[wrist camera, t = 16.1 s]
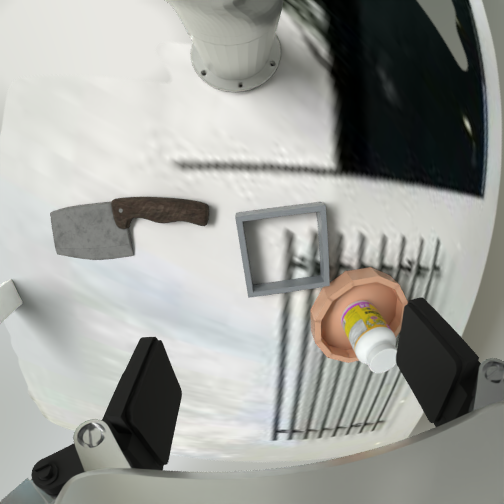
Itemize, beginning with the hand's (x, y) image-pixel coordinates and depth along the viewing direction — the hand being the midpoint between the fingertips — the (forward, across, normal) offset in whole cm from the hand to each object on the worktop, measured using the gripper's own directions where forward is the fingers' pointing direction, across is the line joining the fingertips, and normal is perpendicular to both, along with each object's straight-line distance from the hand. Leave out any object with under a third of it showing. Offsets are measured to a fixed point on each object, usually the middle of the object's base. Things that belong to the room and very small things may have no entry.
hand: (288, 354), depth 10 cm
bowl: (+33, -15, +22) cm, 43 cm away
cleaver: (+34, +22, +1) cm, 40 cm away
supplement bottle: (+32, -15, +22) cm, 42 cm away
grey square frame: (+33, -3, +8) cm, 34 cm away
